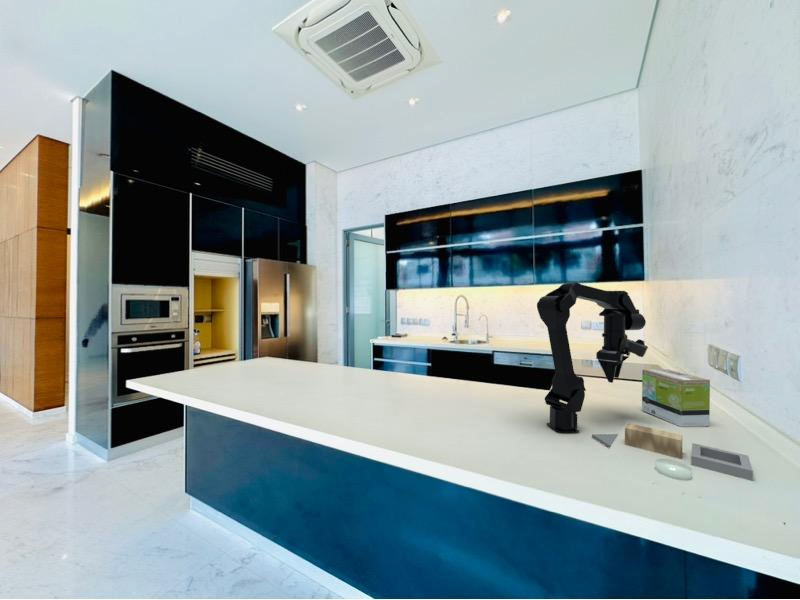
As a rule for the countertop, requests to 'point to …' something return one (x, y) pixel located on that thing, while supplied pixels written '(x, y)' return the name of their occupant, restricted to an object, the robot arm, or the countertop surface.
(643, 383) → the tea box
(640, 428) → the wooden block
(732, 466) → the stone holder
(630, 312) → the robot arm
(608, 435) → the slate board
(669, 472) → the pale grey oval lump
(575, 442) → the countertop surface
